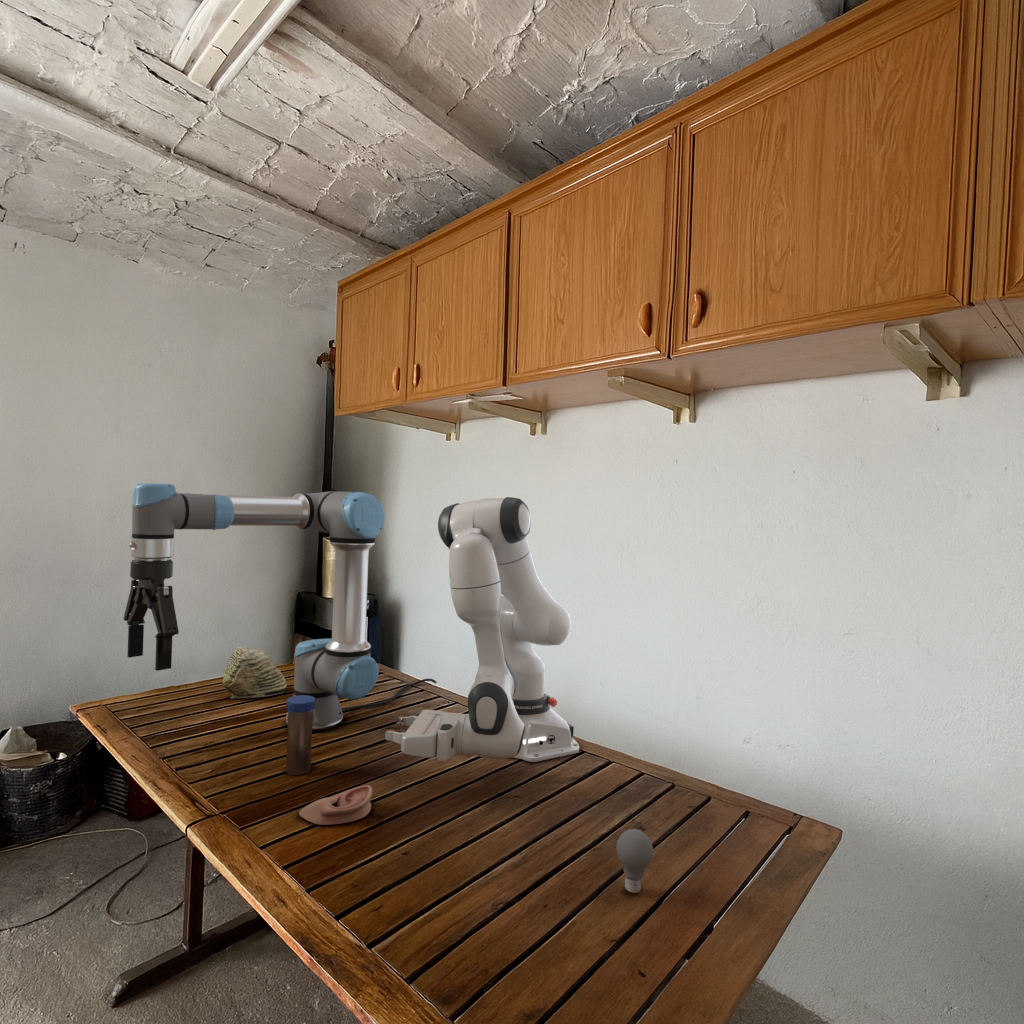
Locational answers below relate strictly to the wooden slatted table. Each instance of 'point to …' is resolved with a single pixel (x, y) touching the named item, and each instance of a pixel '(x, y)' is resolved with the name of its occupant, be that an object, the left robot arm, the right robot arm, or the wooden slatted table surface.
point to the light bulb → (634, 857)
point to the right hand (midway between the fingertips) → (392, 727)
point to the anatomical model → (339, 807)
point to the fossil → (252, 674)
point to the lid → (300, 703)
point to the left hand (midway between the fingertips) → (148, 662)
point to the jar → (299, 742)
